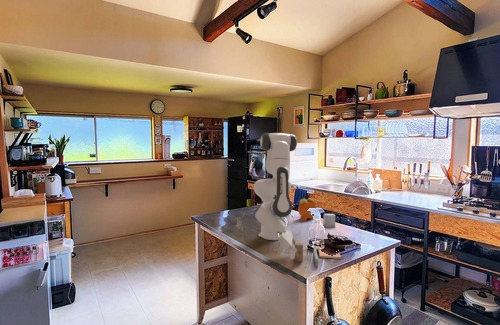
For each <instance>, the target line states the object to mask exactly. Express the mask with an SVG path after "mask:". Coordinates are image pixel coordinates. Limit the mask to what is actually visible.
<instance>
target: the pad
mask: <svg viewBox="0 0 500 325" xmlns="http://www.w3.org/2000/svg"><path fill="white" fill-rule="evenodd" d="M336 252H337V251H336ZM318 255H319V258H320V259H321V258H323V259H336V260H337V259H338V260H341V259H342V257H341V256H342V255H341V254H340V252H339V253H338V254H336V255H333V256H331V255H328V254H326V253H324V252H322V251H321V250H318Z"/></svg>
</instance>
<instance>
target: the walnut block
mask: <svg viewBox="0 0 500 325" xmlns="http://www.w3.org/2000/svg"><path fill="white" fill-rule="evenodd" d="M294 247H295V248H296V249H297V252H296V253H295V252H294V262H298V263H303V261H304V260H303V258H304V243H303V242H301V241H300V242H299V241H296V242H295V245H294Z"/></svg>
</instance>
